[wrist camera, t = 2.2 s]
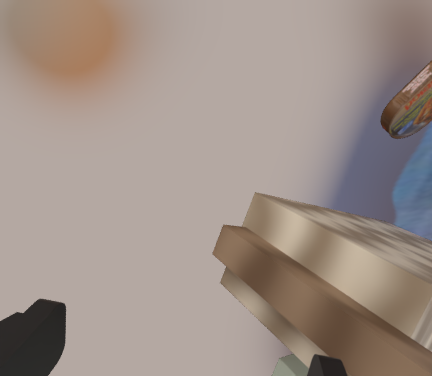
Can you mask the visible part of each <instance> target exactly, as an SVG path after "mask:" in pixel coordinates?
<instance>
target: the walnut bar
mask: <svg viewBox="0 0 432 376" xmlns="http://www.w3.org/2000/svg"><path fill="white" fill-rule="evenodd" d="M213 255H214V256H215V257H216V258H217V259H219V260H220V261H221V262H222V263H223V264H224V265H226V266H227V267H228V268H229V269H230V270H231V271H232V272H233V273H235V274H236V275H237V276H238V277H239V278H240V279H241V280H243V281H244V282H245V283H246V284H247V285H248V286H249V287H251V288H252V289H253V290H254V291H255V292H256V293H257V294H259V295H260V296H261V297H262V298H263V299H264V300H265V301H266V302H268V303H269V304H270V305H271V306H272V307H273V308H274V309H276V310H277V311H278V312H279V313H280V314H281V315H282V316H284V317H285V318H286V319H287V320H288V321H289V322H290V323H292V324H293V325H294V326H295V327H296V328H297V329H298V330H300V331H301V332H302V333H303V334H304V335H305V336H306V337H308V338H309V339H310V340H311V341H312V342H313V343H314V344H316V345H317V346H318V347H319V348H320V349H321V350H322V351H324V352H325V353H326V354H327V355H328V356H329V357H334V358H339V359H341V361H342V362H343V365H344V368H345V370H346V372H347V373H349V374H350V375H351V376H432V352H431V351H430V350H428V349H427V348H425V347H424V346H422V345H421V344H419V343H418V342H416V341H415V340H413V339H412V338H410V337H409V336H407V335H406V334H404V333H403V332H401V331H400V330H398V329H397V328H395V327H394V326H392V325H391V324H389V323H388V322H386V321H385V320H383V319H382V318H380V317H379V316H377V315H376V314H374V313H373V312H371V311H370V310H368V309H367V308H365V307H364V306H362V305H361V304H359V303H358V302H356V301H355V300H354V299H352V298H351V297H349V296H348V295H346V294H345V293H343V292H342V291H340V290H339V289H337V288H336V287H334V286H333V285H331V284H330V283H328V282H327V281H325V280H324V279H322V278H321V277H319V276H318V275H316V274H315V273H313V272H312V271H310V270H309V269H307V268H306V267H304V266H303V265H301V264H300V263H298V262H297V261H295V260H294V259H292V258H291V257H289V256H288V255H286V254H285V253H283V252H282V251H280V250H279V249H278V248H276V247H275V246H273V245H272V244H270V243H269V242H267V241H266V240H264V239H263V238H261V237H260V236H258V235H257V234H255V233H254V232H252V231H251V230H249V229H248V228H246V227H239V226H230V225H223V227H222V230H221V232H220V235H219V238H218V241H217V243H216V246H215V249H214V251H213Z"/></svg>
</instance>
